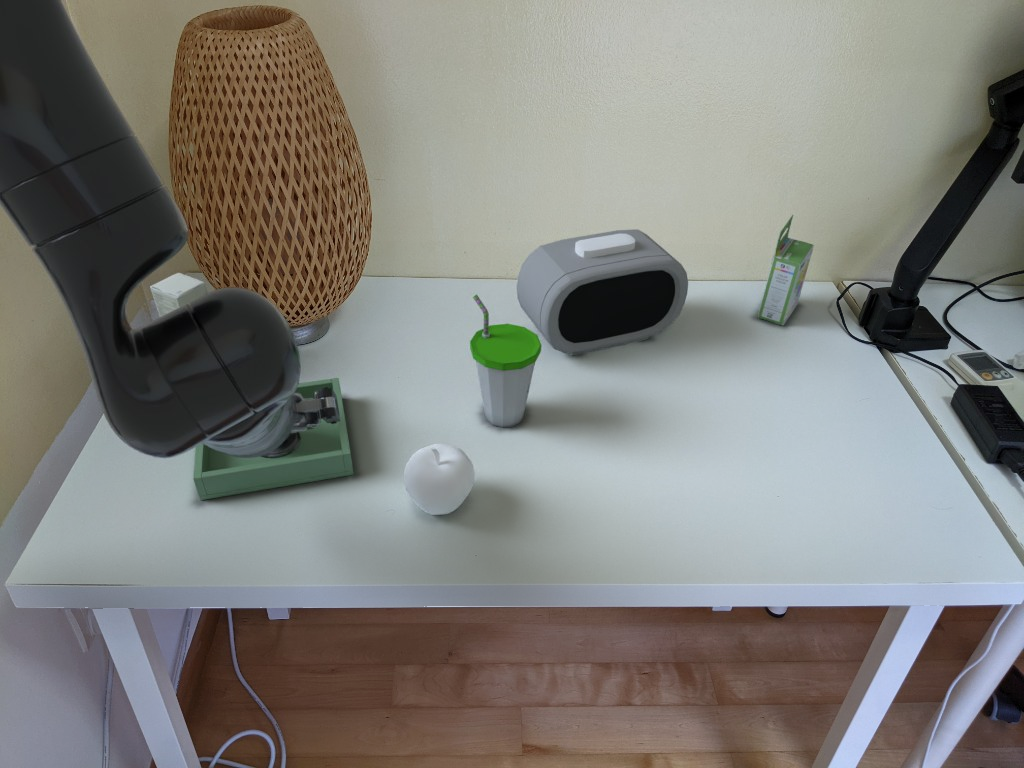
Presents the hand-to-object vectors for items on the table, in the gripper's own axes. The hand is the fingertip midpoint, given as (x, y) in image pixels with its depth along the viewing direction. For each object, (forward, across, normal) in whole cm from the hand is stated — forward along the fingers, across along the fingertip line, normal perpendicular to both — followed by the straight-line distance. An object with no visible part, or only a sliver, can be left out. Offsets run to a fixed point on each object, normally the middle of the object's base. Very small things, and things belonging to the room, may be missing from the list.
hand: (263, 425), depth 74 cm
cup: (+12, -26, +2) cm, 29 cm away
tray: (+13, 0, +1) cm, 13 cm away
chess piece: (+12, 0, +1) cm, 12 cm away
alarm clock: (+22, -43, -8) cm, 49 cm away
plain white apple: (+4, -16, +10) cm, 19 cm away
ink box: (+21, -70, -7) cm, 73 cm away
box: (+26, +9, -12) cm, 30 cm away
